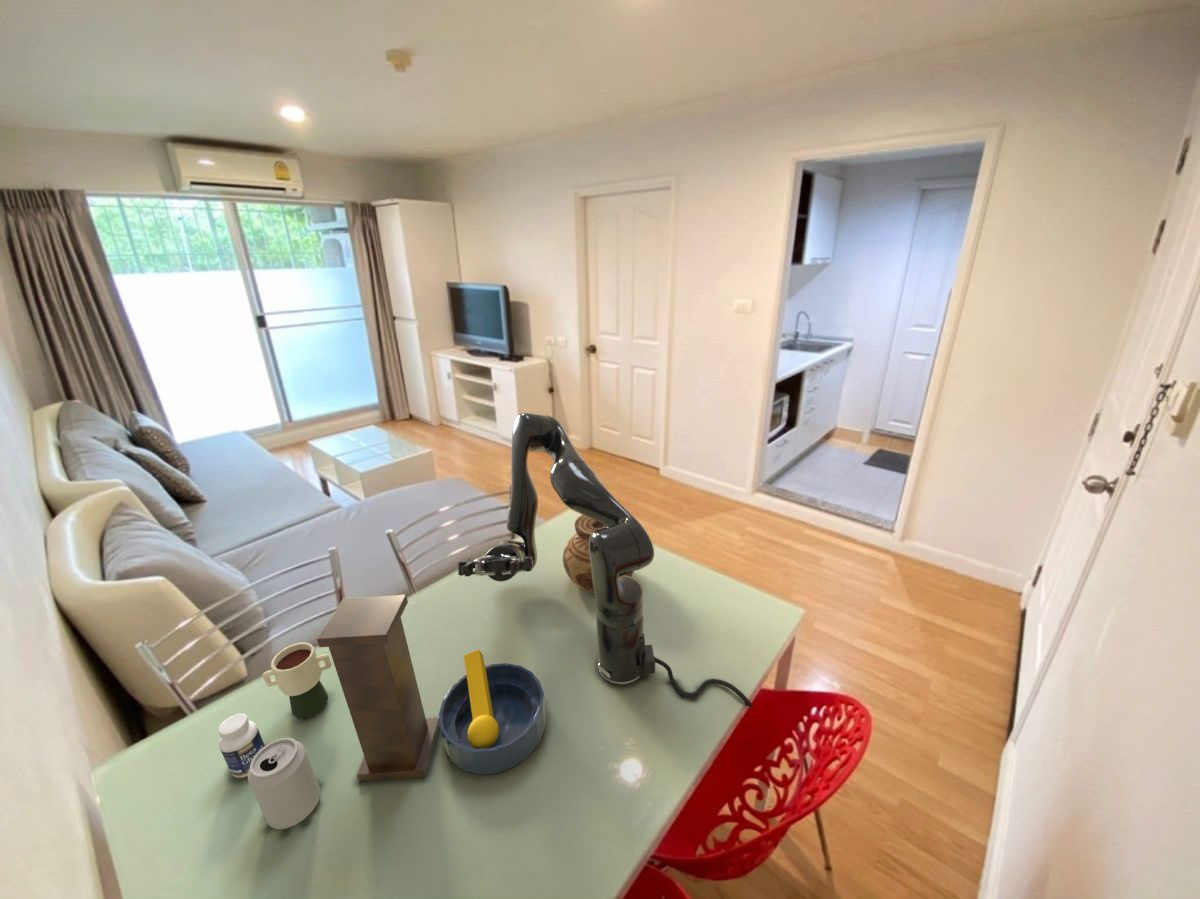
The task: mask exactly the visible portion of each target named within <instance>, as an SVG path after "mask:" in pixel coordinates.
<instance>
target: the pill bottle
mask: <svg viewBox="0 0 1200 899" xmlns="http://www.w3.org/2000/svg"><path fill="white" fill-rule="evenodd" d="M217 729H218V734H219V737H220V738H219V740H218V747H219V750H220V753H221V754H222V757H223V759H224V761H225V763H226V765H227V767H228V769H229V772H230V774H231V775H232V776H233V777H235V778H237V779H238V778H245V777H248V774H249V770H250V765H251V762H252V760H253V758H254V756H255V755H256V754H257V753H258V752H259V751H260V750H261V749H262V748H263V747H265V746H266V744H265V742H264V740H263V738H262V735H261V734H260V730H259V728H258V725H257V723H255V722H254V721H252V720H249V718H248V716H247V715H246V714H245V713H235V714H233V715H231V716H229V717H227V718H226V719H224V720H223V721H222V722H221V723H220V724H219V727H218V728H217Z"/></svg>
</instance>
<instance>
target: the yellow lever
mask: <svg viewBox="0 0 1200 899" xmlns="http://www.w3.org/2000/svg"><path fill="white" fill-rule="evenodd" d="M463 659H464V667H465V673H466V674H465V675H467V682H468V689H469V696H470V703H471V711H472V718H473V721H472V723H471V724H470V726H469V729H468V740H469V743H470V744H471V746H472V747H474V748H475V749H480V748H490V747H491V746H493V745H494V743H495V742H496V740H497V738H498V735H499V726H498V723H497V721H496V720H495V719H494V716H493V710H492V704H491V698H490V692H489V687H488V681H487V675H486V669H485V666H486V664H485V657H484V655H483V653H482V651H480V649H477V650H476V649H475V650H474V651H472V652H469V653H466V654H464V655H463Z"/></svg>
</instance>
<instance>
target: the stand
mask: <svg viewBox="0 0 1200 899" xmlns="http://www.w3.org/2000/svg"><path fill="white" fill-rule="evenodd" d="M408 604H409V601H408V597H407V594H396V595H395V594H392V595H377V596H359V597H344V598H343V599H342V600H341V602H340V603H339V605H338V606H337V608H336V609H335V611H334V612H333V614H332V615H331V617H330V618H329V620H328V621H327V623H326V624H325V625H324V627H323V629H322V630H321V631H320V633H319V634H318V636H317V638H316V642H317V645H318V647H319V648H328V651H329V653H330V656H331V659H332V661H333V662H332V663H333V665H334V668H335V671H336V674H337V678H338V681H339V683H340V686H341V690H342V694H343V695H344V698H345V702H346V705H347V707H348V712H349V714H350V717H351V720H352V723H353V725H354V730H355V732H356V735H357V736H356V737H357V739H358V742H359V744H360V748H361V751H362V753H363V759H362V762H361V765H360V767H359V768H358V772H357V773H356V777H357V780H358V782H367V781H368V782H369V781H382V780H383V781H384V780H396V779H397V780H398V779H414V778H426V774H427V772H428V768H429V765H430V761H431V758H432V754H433V751H434V748H435V744H436V741H437V738H438V734H439V731H440V722H439V717H427V718H426V714H425V710H424V705H423V702H422V698H421V694H420V689H419V684H418V682H417V677H416V674H415V669H414V665H413V661H412V657H411V653H410V649H409V646H408V645H409V644H408V641H407V637H406V633H405V628H404V625H403V621H402V616H403V613H404V612H405V610H406V608H407V605H408Z"/></svg>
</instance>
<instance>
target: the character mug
mask: <svg viewBox="0 0 1200 899" xmlns="http://www.w3.org/2000/svg"><path fill="white" fill-rule="evenodd" d="M320 662H324V664H322V665H321V664H320ZM270 668H271V669H270V670H266V671H265V672H263V673H262V678H263V680H264V683H265V686H266V687H269V688H270V687H273V686H278V689H279V690H280V692H281V693H282V694H283V695H284V696H287V697H288V698H289V704H290V709H291V715H292V716H293V717H295V718H296V719H302V720H305V719H309V718H312V717H314V716H315V715H317V714H318V713H320V712H321V711H322V710H323V708H324V707H325V706H326V704H327V703H328V700H329V694H328V692H327V691H326V689H325V688H326V687H324V685H323V683H322V682H321V677H322V676H321V675H322V672H323V671H326V670H329V669H330V668H332V662H331V659H330V656H329V654H327V653H324V654H321V655H317V652H316V649H315V646H314V645H312V644H311V643H310V642H305V641H303V642H296V643H293V644H291V645H288V646H287V647H286V646H285V648H283V649H282V650H280V651H279V652H277V654H276V655H275V656H274V657H273V659H272V660H271V662H270ZM272 676H273V677H274V679H271V677H272Z"/></svg>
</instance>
